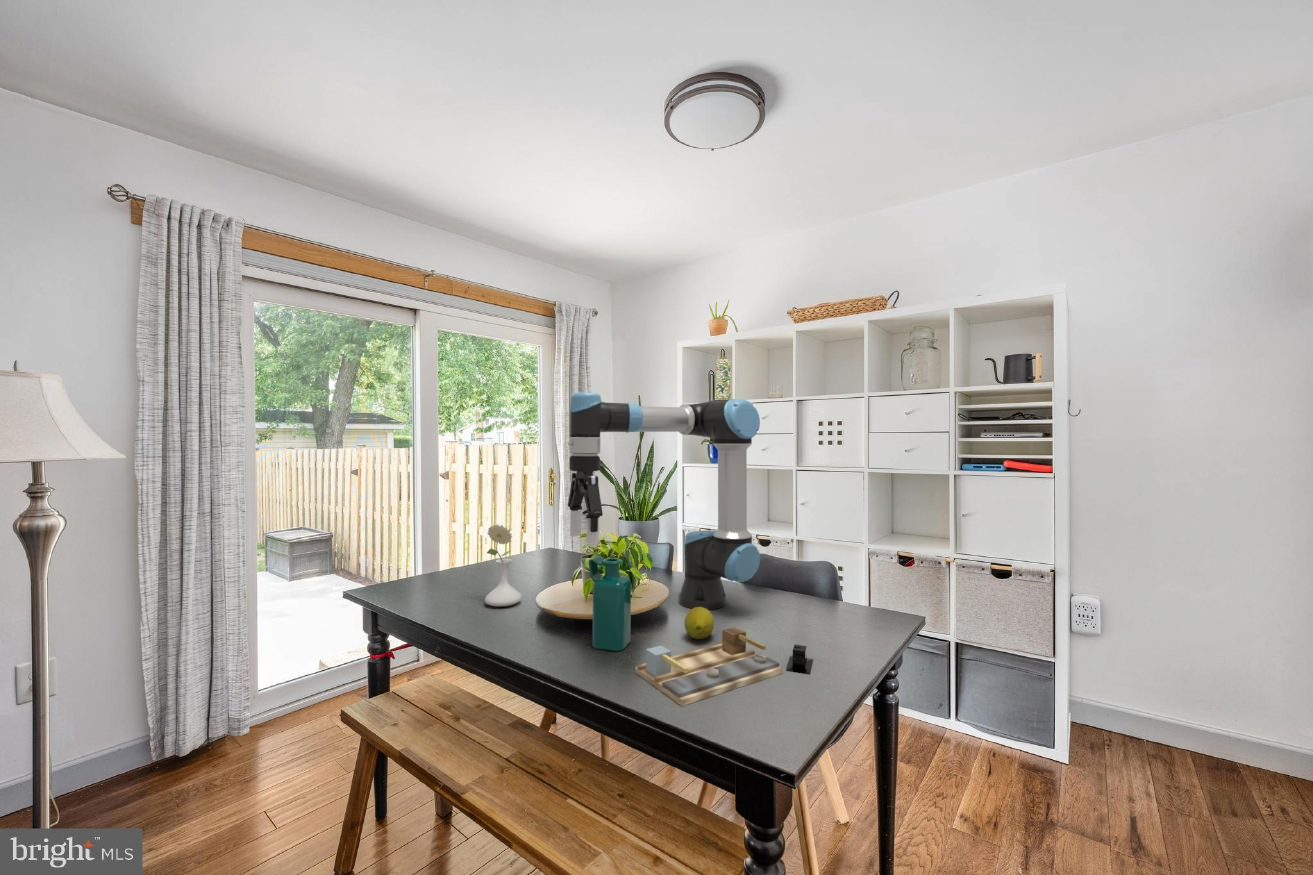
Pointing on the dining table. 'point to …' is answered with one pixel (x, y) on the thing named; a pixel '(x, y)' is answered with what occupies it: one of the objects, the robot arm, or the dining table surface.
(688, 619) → the lemon
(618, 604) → the pitcher
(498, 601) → the flower in vase
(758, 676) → the gauge board
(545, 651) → the dining table surface
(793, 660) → the black stand
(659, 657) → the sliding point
